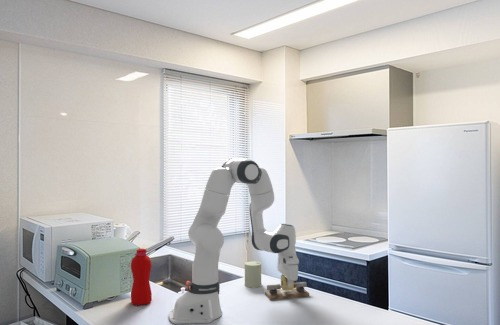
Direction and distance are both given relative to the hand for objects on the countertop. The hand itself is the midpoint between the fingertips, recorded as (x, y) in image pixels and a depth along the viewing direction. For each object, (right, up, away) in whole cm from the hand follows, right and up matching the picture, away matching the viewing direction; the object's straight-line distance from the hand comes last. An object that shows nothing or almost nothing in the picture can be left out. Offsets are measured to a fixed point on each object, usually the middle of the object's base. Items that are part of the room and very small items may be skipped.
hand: (287, 284), depth 189 cm
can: (-17, -6, +17) cm, 24 cm away
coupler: (0, -2, 0) cm, 2 cm away
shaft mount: (0, -5, 0) cm, 5 cm away
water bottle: (-70, -6, -9) cm, 71 cm away
